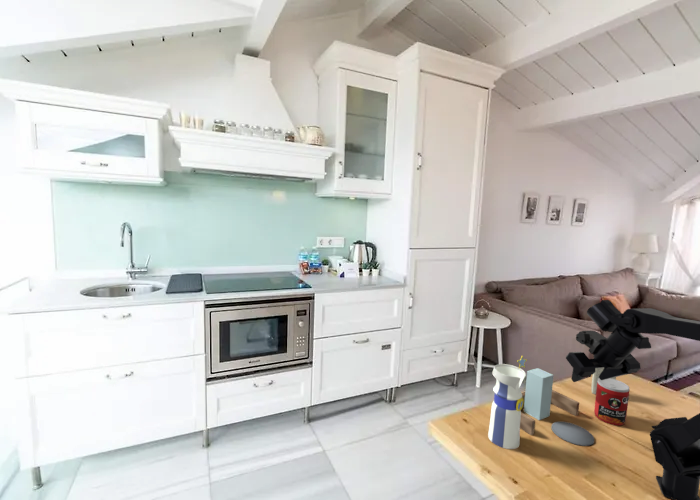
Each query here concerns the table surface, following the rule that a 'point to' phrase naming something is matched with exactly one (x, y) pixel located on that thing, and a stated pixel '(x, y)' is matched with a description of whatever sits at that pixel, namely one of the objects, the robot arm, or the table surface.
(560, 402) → the u-shaped wooden frame
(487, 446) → the table surface
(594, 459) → the table surface
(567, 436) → the coaster
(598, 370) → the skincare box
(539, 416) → the block
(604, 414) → the canned food
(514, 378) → the blue striped jug
